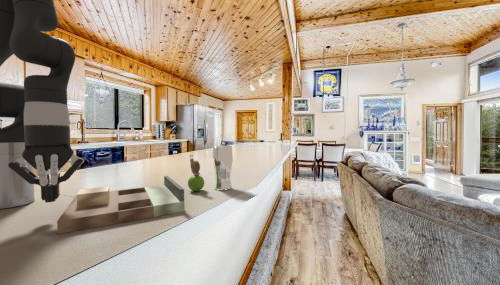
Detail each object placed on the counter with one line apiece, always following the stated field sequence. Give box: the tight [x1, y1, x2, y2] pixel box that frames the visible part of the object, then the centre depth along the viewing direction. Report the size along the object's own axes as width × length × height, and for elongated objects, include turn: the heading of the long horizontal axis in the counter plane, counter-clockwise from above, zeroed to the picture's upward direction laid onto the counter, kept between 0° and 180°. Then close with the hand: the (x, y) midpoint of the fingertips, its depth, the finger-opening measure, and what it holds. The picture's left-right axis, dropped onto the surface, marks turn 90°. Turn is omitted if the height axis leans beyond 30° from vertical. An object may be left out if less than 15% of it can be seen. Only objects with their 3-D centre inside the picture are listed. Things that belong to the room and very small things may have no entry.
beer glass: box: [212, 145, 234, 191], centre depth 77 cm, size 7×7×15 cm
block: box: [76, 186, 110, 208], centre depth 54 cm, size 6×6×3 cm
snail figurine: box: [187, 154, 205, 192], centre depth 75 cm, size 5×6×12 cm
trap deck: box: [56, 175, 185, 235], centre depth 57 cm, size 24×22×6 cm
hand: (51, 201), depth 49 cm, fingers closed
